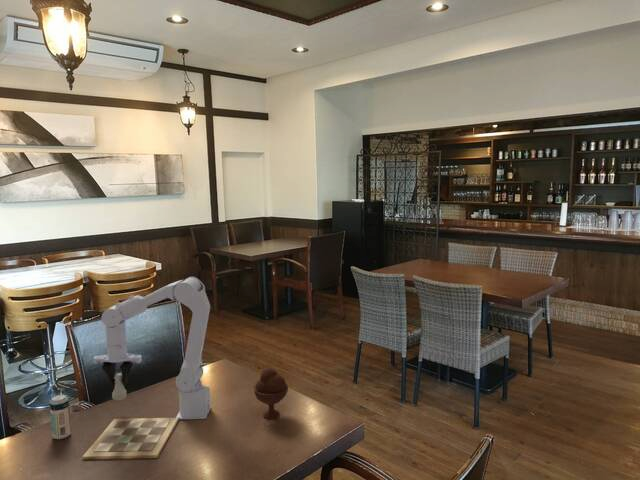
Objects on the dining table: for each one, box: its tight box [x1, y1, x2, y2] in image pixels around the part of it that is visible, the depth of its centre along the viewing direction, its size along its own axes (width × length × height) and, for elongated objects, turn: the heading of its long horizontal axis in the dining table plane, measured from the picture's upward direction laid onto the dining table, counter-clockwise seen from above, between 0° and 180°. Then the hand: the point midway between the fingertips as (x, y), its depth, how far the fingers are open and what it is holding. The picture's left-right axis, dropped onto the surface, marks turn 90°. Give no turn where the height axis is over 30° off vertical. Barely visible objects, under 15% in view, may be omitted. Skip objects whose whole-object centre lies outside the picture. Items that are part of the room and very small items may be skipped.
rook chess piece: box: [111, 371, 128, 401], centre depth 146 cm, size 4×4×8 cm
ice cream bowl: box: [253, 367, 289, 420], centre depth 144 cm, size 11×11×15 cm
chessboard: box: [82, 417, 180, 460], centre depth 132 cm, size 20×20×1 cm
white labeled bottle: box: [49, 393, 72, 440], centre depth 133 cm, size 5×5×12 cm
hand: (119, 384), depth 146 cm, fingers closed on rook chess piece, 3 cm apart
